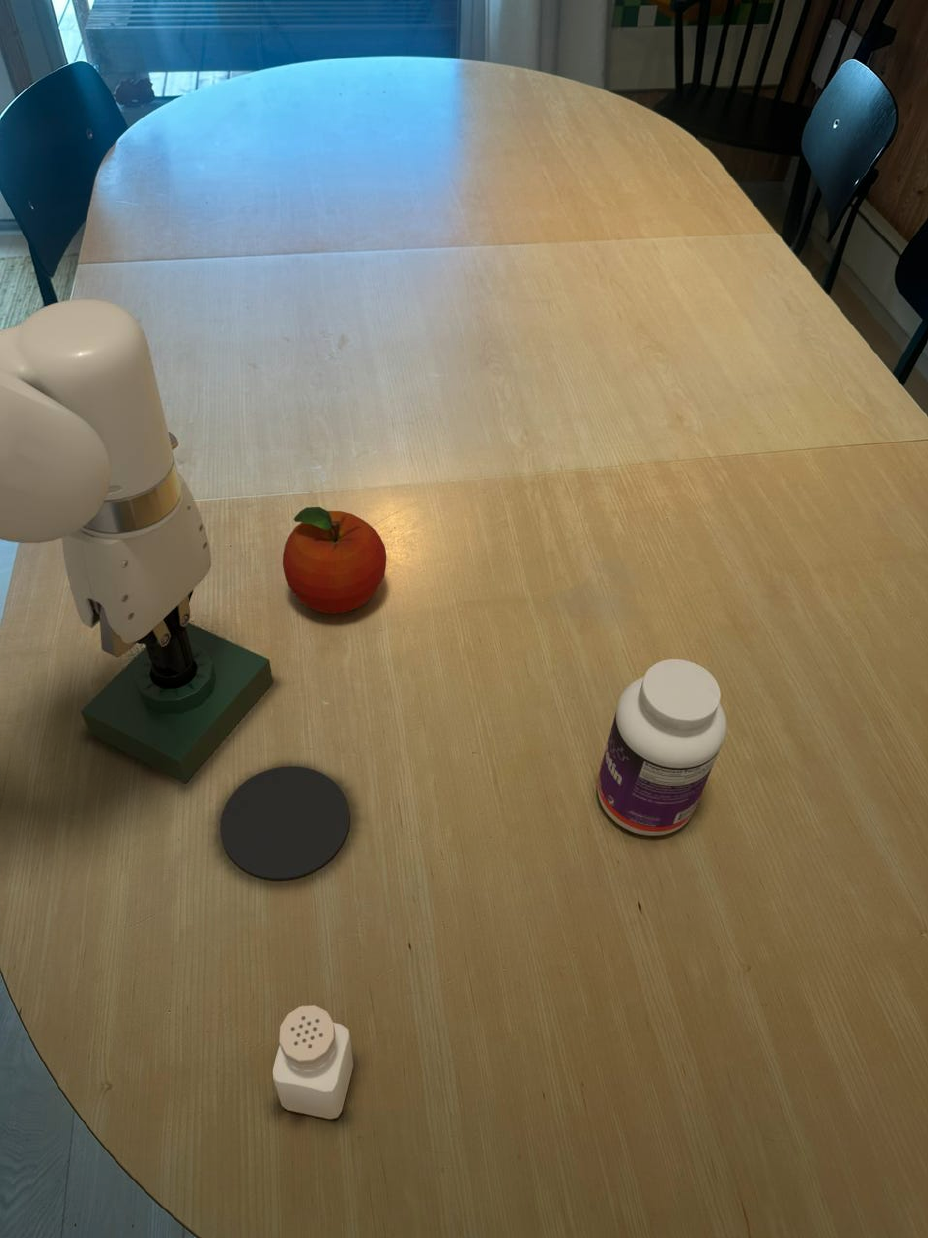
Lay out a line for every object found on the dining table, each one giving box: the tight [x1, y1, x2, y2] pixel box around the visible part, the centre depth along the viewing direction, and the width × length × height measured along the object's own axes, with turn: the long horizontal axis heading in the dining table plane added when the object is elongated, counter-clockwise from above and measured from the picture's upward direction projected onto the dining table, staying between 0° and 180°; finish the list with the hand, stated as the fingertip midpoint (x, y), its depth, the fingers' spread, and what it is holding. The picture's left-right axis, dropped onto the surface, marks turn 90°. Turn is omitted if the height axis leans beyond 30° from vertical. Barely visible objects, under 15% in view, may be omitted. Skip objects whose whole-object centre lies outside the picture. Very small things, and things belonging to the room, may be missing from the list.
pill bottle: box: [596, 658, 727, 837], centre depth 73 cm, size 8×8×14 cm
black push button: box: [151, 662, 195, 689], centre depth 79 cm, size 3×3×2 cm
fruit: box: [282, 506, 387, 614], centre depth 89 cm, size 10×10×10 cm
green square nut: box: [80, 621, 274, 784], centre depth 81 cm, size 12×10×5 cm
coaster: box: [219, 765, 351, 882], centre depth 76 cm, size 10×10×1 cm
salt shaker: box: [272, 1004, 354, 1120], centre depth 59 cm, size 4×4×10 cm
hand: (172, 660), depth 79 cm, fingers closed
